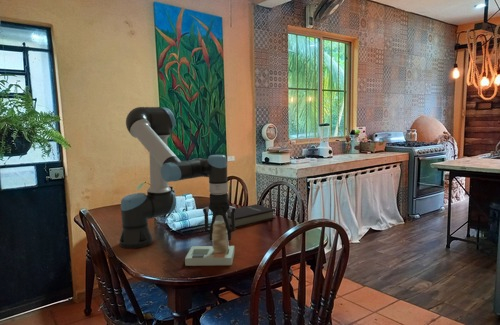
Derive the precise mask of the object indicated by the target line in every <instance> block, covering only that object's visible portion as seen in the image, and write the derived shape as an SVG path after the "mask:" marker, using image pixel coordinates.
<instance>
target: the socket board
mask: <svg viewBox="0 0 500 325" xmlns="http://www.w3.org/2000/svg"><path fill="white" fill-rule="evenodd" d="M234 256H235V245H229V248H228V253H227V255H225V254H214V249H213V246H212V245H192V246H191V247H190V249H189V251H188V252H187V254H186V255H185V258H184V265H185V266H187V267H188V266H190V267H191V266H194V267H195V266H196V267H197V266H232V265H233V262H234V261H233V260H234Z"/></svg>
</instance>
